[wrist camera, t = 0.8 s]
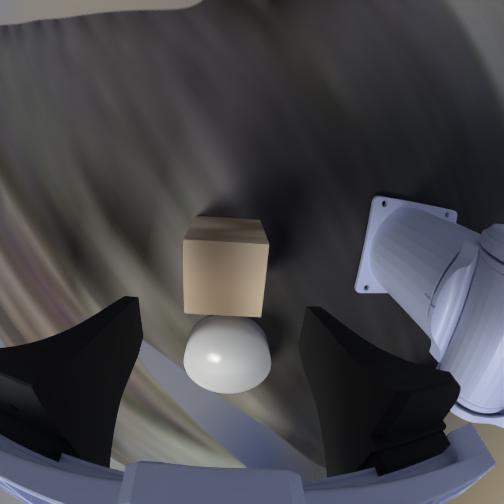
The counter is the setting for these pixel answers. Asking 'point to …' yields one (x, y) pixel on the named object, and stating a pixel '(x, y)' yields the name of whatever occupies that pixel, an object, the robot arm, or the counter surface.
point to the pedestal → (227, 354)
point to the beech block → (224, 266)
